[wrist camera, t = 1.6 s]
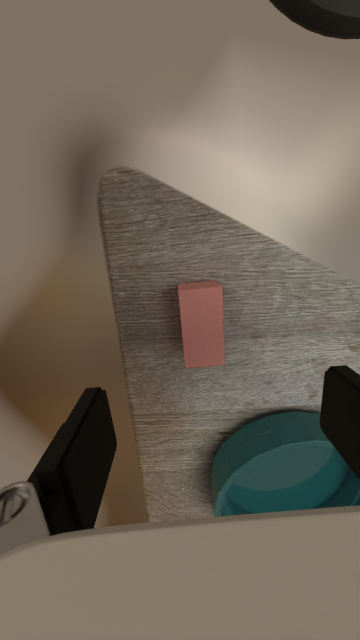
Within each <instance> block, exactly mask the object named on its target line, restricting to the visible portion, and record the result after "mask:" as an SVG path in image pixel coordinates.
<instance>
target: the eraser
mask: <svg viewBox="0 0 360 640" xmlns="http://www.w3.org/2000/svg"><path fill="white" fill-rule="evenodd" d="M178 297H179V307H180V318H181V328H182V338H183V349H184V359H185V368H195V367H207V366H219V365H225V349H224V320H223V291H222V286H221V285H220V284H219V283H218V282H217V281H216V280H215V281H204V282H193V283H182V284H178Z"/></svg>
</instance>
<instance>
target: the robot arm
mask: <svg viewBox="0 0 360 640" xmlns="http://www.w3.org/2000/svg"><path fill="white" fill-rule="evenodd" d="M320 427H321V430H322V432H323V433H324V434H325V436H326V437H327V438H328V440H329V441H330V442H331V443H332V445H333V446H334V447H335V449H336V450H337V451H338V453H339V454H340V455H341V456H342V458H343V459H344V460H345V462H346V463H347V464H348V466H349V467H350V468H351V470H352V471H353V472H354V473H355V475H356V476H357V477H358V479H359V480H360V375H359V374H357V373H356V372H355V371H353V370H352V369H351V368H349V367H348V366H346V365H342V366H331V367H329V369H328V370H327V371H326V372H325V376H324V385H323V395H322V404H321V414H320ZM116 445H117V441H116V436H115V431H114V427H113V422H112V417H111V412H110V408H109V403H108V399H107V394H106V391H105V390H102V389H101V388H100V387H95V388H86V389H85V391H84V392H83V394H82V396H81V397H80V399H79V400H78V402H77V404H76V405H75V407H74V409H73V410H72V412H71V414H70V415H69V417H68V419H67V420H66V422H65V423H63V424H62V426H61V427H60V428H59V430H58V432H57V433H56V435H55V437H54V438H53V440H52V441H51V443H50V445H49V446H48V448H47V450H46V451H45V453H44V454H43V456H42V458H41V459H40V461H39V463H38V464H37V466H36V467H35V469H34V471H33V472H32V474H31V475H30V477H29V479H28V480H27V481H21V482H16V483H12V484H10V485H8V486H6V487H4V488H2V489H1V490H0V640H360V505H358V506H344V507H331V508H318V509H305V510H292V511H280V512H268V513H255V514H243V515H231V516H219V517H208V518H196V519H185V520H173V521H162V522H151V523H139V524H130V525H121V526H111V527H102V528H94V525H95V521H96V518H97V514H98V511H99V507H100V504H101V500H102V497H103V493H104V490H105V486H106V483H107V479H108V476H109V472H110V469H111V465H112V462H113V458H114V455H115V451H116Z"/></svg>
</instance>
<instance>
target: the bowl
mask: <svg viewBox="0 0 360 640" xmlns="http://www.w3.org/2000/svg"><path fill="white" fill-rule="evenodd" d="M209 480H210V487H211V495H212V503H213V510H214V516H215V517H219V516H231V515H243V514H255V513H268V512H280V511H292V510H305V509H318V508H331V507H344V506H358V505H360V480H359V479H358V477H357V476H356V475H355V473H354V472H353V471H352V470H351V468H350V467H349V466H348V464H347V463H346V462H345V460H344V459H343V458H342V456H341V455H340V454H339V453H338V451H337V450H336V449H335V447H334V446H333V445H332V443H331V442H330V441H329V440H328V438H327V437H326V436H325V434H324V433H323V432H322V430H321V427H320V414H319V413H309V412H298V411H292V412H286V413H280V414H273V415H268V416H265V417H263V418H261V419H258V420H256V421H254V422H252V423H249V424H247V425H245V426H243V427H242V428H241V429H239V430H238V431H237V432H236V433H234V434H233V435H232V436H231V437H229V438H228V439H227V440H226V441H224V443H223V444H222V446H221V447H220V449H219V450H218V452H217V453H216V455H215V456H214V458H213V462H212V466H211V471H210V476H209Z"/></svg>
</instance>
